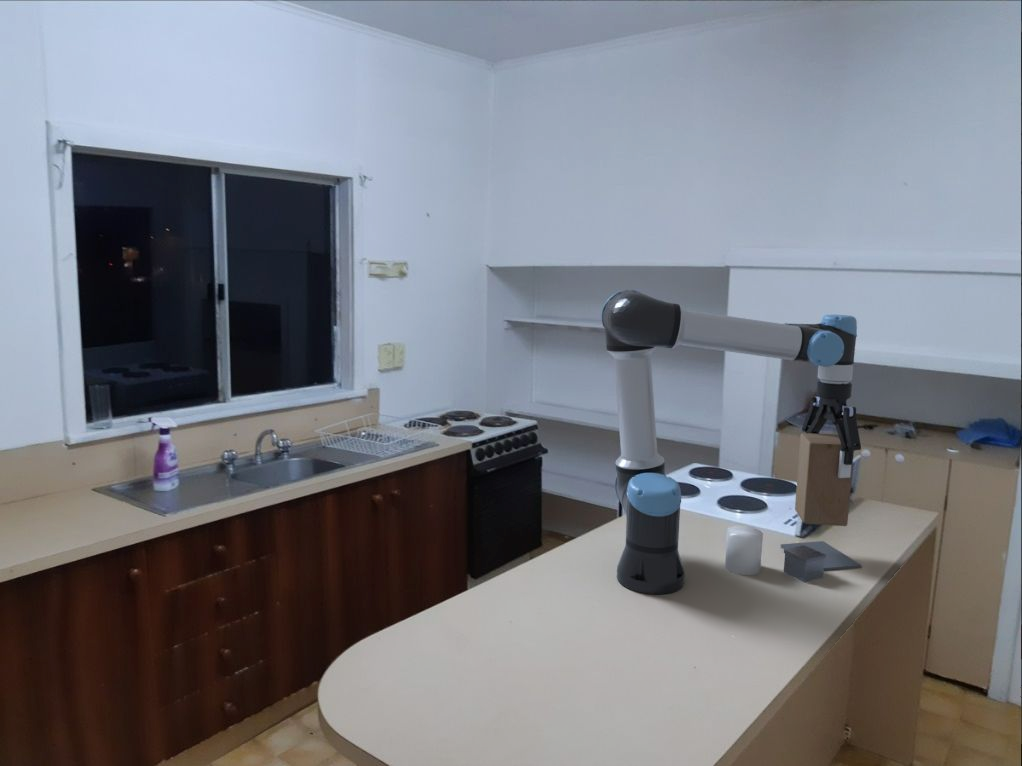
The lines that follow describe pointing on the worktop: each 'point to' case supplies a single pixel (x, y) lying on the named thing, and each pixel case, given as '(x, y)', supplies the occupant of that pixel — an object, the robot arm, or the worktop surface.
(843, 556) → the mat
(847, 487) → the wooden block
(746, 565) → the white rounded cylinder
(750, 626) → the worktop surface
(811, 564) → the tea tin
